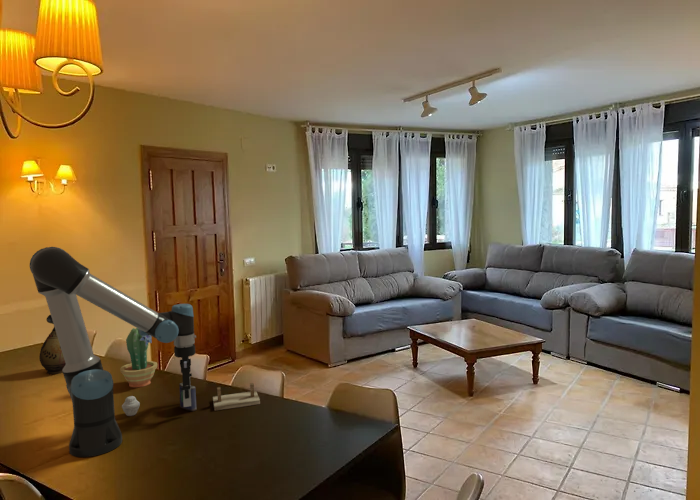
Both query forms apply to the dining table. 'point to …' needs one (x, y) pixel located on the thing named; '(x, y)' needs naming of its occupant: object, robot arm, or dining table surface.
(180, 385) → the flask
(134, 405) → the white rounded jar
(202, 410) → the dining table surface
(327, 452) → the dining table surface
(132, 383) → the potted cactus
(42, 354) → the ceramic jug
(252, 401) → the slice holder
